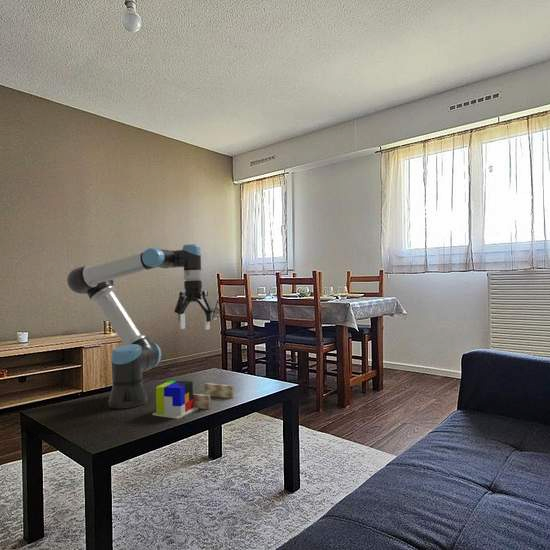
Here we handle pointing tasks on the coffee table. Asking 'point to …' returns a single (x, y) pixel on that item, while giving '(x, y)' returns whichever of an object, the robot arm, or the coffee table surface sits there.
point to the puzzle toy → (174, 397)
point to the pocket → (211, 394)
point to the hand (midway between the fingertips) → (194, 329)
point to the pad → (177, 415)
